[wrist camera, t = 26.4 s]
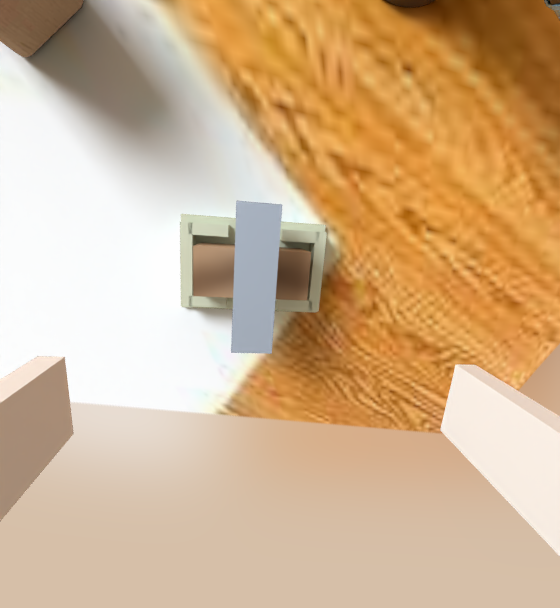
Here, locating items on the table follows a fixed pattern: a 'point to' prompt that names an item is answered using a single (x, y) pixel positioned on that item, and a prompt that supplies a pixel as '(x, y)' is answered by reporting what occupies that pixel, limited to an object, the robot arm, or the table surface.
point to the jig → (223, 232)
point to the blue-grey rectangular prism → (255, 276)
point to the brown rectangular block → (220, 271)
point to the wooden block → (33, 22)
